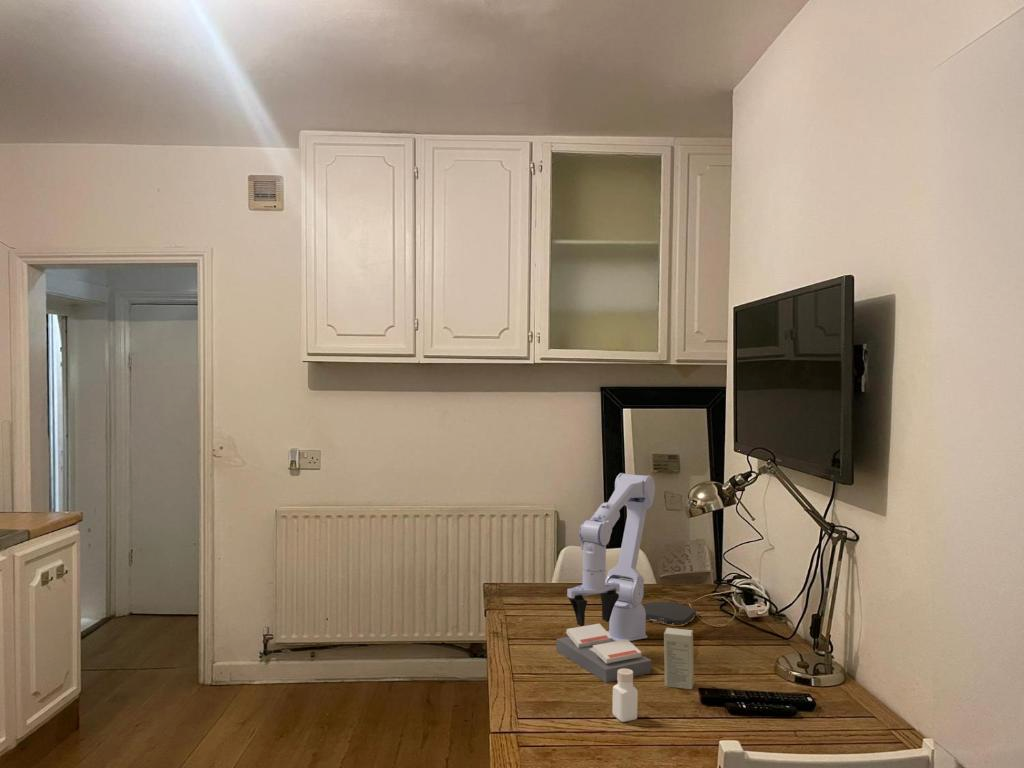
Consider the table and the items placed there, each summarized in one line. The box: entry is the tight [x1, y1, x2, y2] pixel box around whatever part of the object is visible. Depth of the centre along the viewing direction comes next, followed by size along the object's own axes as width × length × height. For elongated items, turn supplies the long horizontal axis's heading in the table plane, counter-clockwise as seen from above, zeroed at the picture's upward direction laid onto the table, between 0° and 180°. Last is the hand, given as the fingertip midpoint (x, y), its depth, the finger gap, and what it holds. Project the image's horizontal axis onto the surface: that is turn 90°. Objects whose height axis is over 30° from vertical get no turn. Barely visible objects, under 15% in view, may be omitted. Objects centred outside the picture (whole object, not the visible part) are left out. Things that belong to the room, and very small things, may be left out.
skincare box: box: [663, 627, 695, 690], centre depth 166 cm, size 6×4×12 cm
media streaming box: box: [642, 601, 697, 625], centre depth 214 cm, size 15×15×3 cm
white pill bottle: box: [612, 669, 639, 723], centre depth 149 cm, size 4×4×10 cm
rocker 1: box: [565, 623, 612, 648], centre depth 184 cm, size 10×6×1 cm, turn 118°
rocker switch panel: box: [555, 636, 652, 683], centre depth 179 cm, size 13×22×3 cm, turn 28°
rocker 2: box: [592, 639, 642, 664], centre depth 173 cm, size 10×6×1 cm, turn 118°
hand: (593, 622), depth 182 cm, fingers open, 7 cm apart
